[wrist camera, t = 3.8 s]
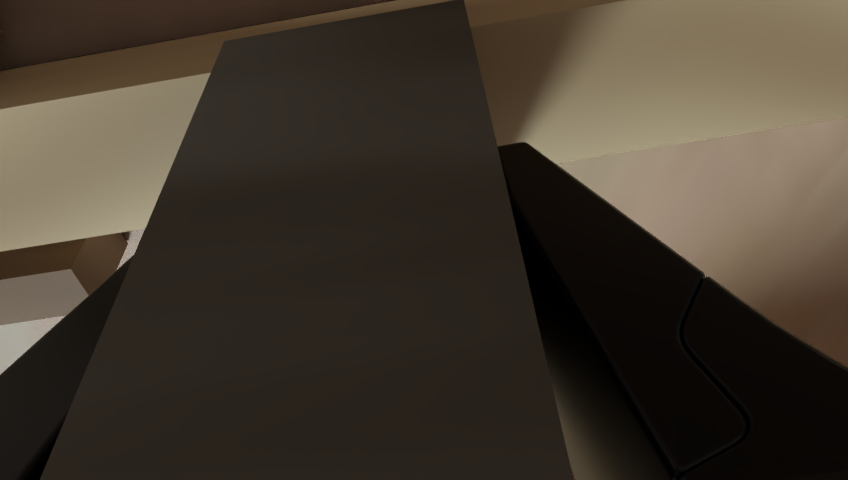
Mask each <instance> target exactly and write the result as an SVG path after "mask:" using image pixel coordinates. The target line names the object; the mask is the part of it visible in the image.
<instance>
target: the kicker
mask: <svg viewBox="0 0 848 480" xmlns="http://www.w3.org/2000/svg"><path fill="white" fill-rule="evenodd" d="M846 117H848V0H396V1H390V2H384V3H379V4H373V5H368V6H362V7H356V8H351V9H345V10H340V11H334V12H328V13H323V14H317V15H312V16H306V17H300V18H295V19H289V20H284V21H278V22H272V23H267V24H261V25H255V26H250V27H244V28H239V29H233V30H227V31H222V32H216V33H211V34H205V35H199V36H194V37H188V38H183V39H177V40H171V41H166V42H160V43H155V44H149V45H143V46H138V47H132V48H127V49H121V50H115V51H110V52H104V53H99V54H93V55H87V56H82V57H76V58H71V59H65V60H59V61H54V62H48V63H43V64H37V65H31V66H26V67H20V68H15V69H9V70H3V71H0V252H1V251H7V250H14V249H20V248H26V247H33V246H39V245H45V244H51V243H58V242H64V241H70V240H77V239H83V238H89V237H96V236H102V235H108V234H115V233H121V232H127V231H133V230H140V229H145V231H144V233H143V235H142V238H141V240H140V242H139V245H138V247H137V250H136V252H135V254H134V257H133V259H132V262H131V264H130V266H129V269H128V271H127V273H126V276H125V278H124V281H123V283H122V285H121V288H120V290H119V292H118V295H117V297H116V300H115V302H114V304H113V307H112V309H111V311H110V314H109V316H108V319H107V321H106V323H105V326H104V328H103V331H102V333H101V335H100V338H99V340H98V342H97V345H96V347H95V350H94V352H93V354H92V357H91V359H90V361H89V364H88V366H87V369H86V371H85V373H84V376H83V378H82V380H81V383H80V385H79V388H78V390H77V392H76V395H75V397H74V400H73V402H72V404H71V407H70V409H69V411H68V414H67V416H66V419H65V421H64V423H63V426H62V428H61V430H60V433H59V435H58V438H57V440H56V442H55V445H54V447H53V449H52V452H51V454H50V457H49V459H48V461H47V464H46V466H45V469H44V471H43V473H42V476H41V478H40V480H574V479H573V475H572V471H571V466H570V462H569V457H568V453H567V449H566V444H565V440H564V436H563V431H562V427H561V422H560V418H559V414H558V409H557V405H556V401H555V396H554V392H553V387H552V383H551V379H550V374H549V370H548V366H547V361H546V357H545V352H544V348H543V344H542V339H541V335H540V331H539V326H538V322H537V317H536V313H535V309H534V304H533V300H532V295H531V291H530V287H529V282H528V278H527V274H526V269H525V265H524V260H523V256H522V252H521V247H520V243H519V239H518V234H517V230H516V225H515V221H514V217H513V212H512V208H511V204H510V199H509V195H508V190H507V186H506V182H505V177H504V173H503V169H502V164H501V160H500V155H499V151H498V147H497V146H502V145H507V144H513V143H518V142H526V143H528V144H530V145H531V146H532V147H534V148H535V149H536V150H538V151H539V152H540V153H542V154H543V155H545V156H546V157H547V158H549V159H550V160H551V161H553V162H554V163H555V164H556V163H563V162H569V161H575V160H581V159H588V158H594V157H600V156H607V155H613V154H619V153H626V152H632V151H638V150H645V149H651V148H657V147H663V146H670V145H676V144H682V143H689V142H695V141H701V140H708V139H714V138H720V137H727V136H733V135H739V134H745V133H752V132H758V131H764V130H771V129H777V128H783V127H790V126H796V125H802V124H809V123H815V122H821V121H828V120H834V119H840V118H846Z"/></svg>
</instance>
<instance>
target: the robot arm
mask: <svg viewBox="0 0 848 480" xmlns="http://www.w3.org/2000/svg"><path fill="white" fill-rule="evenodd" d="M497 147H498V151H499V155H500V160H501V164H502V169H503V173H504V177H505V182H506V186H507V190H508V195H509V199H510V204H511V208H512V212H513V217H514V221H515V225H516V230H517V234H518V239H519V243H520V247H521V252H522V256H523V260H524V265H525V269H526V274H527V278H528V282H529V287H530V291H531V295H532V300H533V304H534V309H535V313H536V317H537V322H538V326H539V331H540V335H541V339H542V344H543V348H544V352H545V357H546V361H547V366H548V370H549V374H550V379H551V383H552V387H553V392H554V396H555V401H556V405H557V409H558V414H559V418H560V422H561V427H562V431H563V436H564V440H565V444H566V449H567V453H568V457H569V462H570V465H571V468H572V471H573V474H574V477H575V480H848V367H846V366H844V365H842V364H841V363H839V362H837V361H836V360H834V359H832V358H831V357H829V356H827V355H826V354H824V353H822V352H821V351H819V350H818V349H816V348H814V347H813V346H811V345H809V344H808V343H806V342H805V341H803V340H801V339H800V338H798V337H797V336H795V335H793V334H792V333H790V332H788V331H787V330H785V329H784V328H782V327H780V326H779V325H777V324H776V323H774V322H773V321H771V320H770V319H768V318H767V317H766V316H764V315H763V314H761V313H760V312H758V311H757V310H755V309H754V308H753V307H751V306H750V305H748V304H747V303H745V302H744V301H742V300H741V299H740V298H738V297H737V296H735V295H734V294H732V293H731V292H730V291H728V290H727V289H726V288H724V287H723V286H722V285H720V284H719V283H717V282H716V281H715V280H713V279H712V278H711V277H705V275H704V273H703V272H702V271H701V270H699V269H698V268H697V267H695V266H694V265H693V264H691V263H690V262H688V261H687V260H686V259H684V258H683V257H682V256H680V255H679V254H678V253H676V252H675V251H674V250H672V249H671V248H669V247H668V246H667V245H665V244H664V243H663V242H661V241H660V240H659V239H657V238H656V237H655V236H653V235H652V234H650V233H649V232H648V231H646V230H645V229H644V228H642V227H641V226H640V225H638V224H637V223H636V222H634V221H633V220H631V219H630V218H629V217H627V216H626V215H625V214H623V213H622V212H621V211H619V210H618V209H617V208H615V207H614V206H612V205H611V204H610V203H608V202H607V201H606V200H604V199H603V198H602V197H600V196H599V195H597V194H596V193H595V192H593V191H592V190H591V189H589V188H588V187H587V186H585V185H584V184H583V183H581V182H580V181H578V180H577V179H576V178H574V177H573V176H572V175H570V174H569V173H568V172H566V171H565V170H564V169H562V168H561V167H559V166H558V165H557V164H555V163H554V162H553V161H551V160H550V159H549V158H547V157H546V156H545V155H543V154H542V153H540V152H539V151H538V150H536V149H535V148H534V147H532V146H531V145H530V144H528V143H526V142H518V143H513V144H507V145H502V146H497ZM133 257H134V255H133V256H132V257H131V258H130V259H129V260H128V261H126V262H125V263H124V264H123V265H122V266H121V267H120V268H119V269H118V270H116V271H115V272H114V273H113V274H112V275H111V276H110V277H109V278H108V279H106V280H105V281H104V282H103V283H102V284H101V285H100V286H99V287H98V288H96V289H95V290H94V291H93V292H92V293H91V294H90V295H89V296H87V297H86V298H85V299H84V300H83V301H82V302H81V303H80V304H79V305H77V306H76V307H75V308H74V309H73V310H72V311H71V312H70V313H69V314H67V315H66V316H65V317H64V318H63V319H62V320H61V321H60V322H59V323H57V324H56V325H55V326H54V327H53V328H52V329H51V330H50V331H49V332H47V333H46V334H45V335H44V336H43V337H42V338H41V339H40V340H39V341H37V342H36V343H35V344H34V345H33V346H32V347H31V348H30V349H28V350H27V351H26V352H25V353H24V354H23V355H22V356H21V357H20V358H18V359H17V360H16V361H15V362H14V363H13V364H12V365H11V366H10V367H8V368H7V369H6V370H5V371H4V372H3V373H2V374H1V375H0V480H40V478H41V476H42V473H43V471H44V469H45V466H46V464H47V461H48V459H49V457H50V454H51V452H52V449H53V447H54V445H55V442H56V440H57V438H58V435H59V433H60V430H61V428H62V426H63V423H64V421H65V419H66V416H67V414H68V411H69V409H70V407H71V404H72V402H73V400H74V397H75V395H76V392H77V390H78V388H79V385H80V383H81V380H82V378H83V376H84V373H85V371H86V369H87V366H88V364H89V361H90V359H91V357H92V354H93V352H94V350H95V347H96V345H97V342H98V340H99V338H100V335H101V333H102V331H103V328H104V326H105V323H106V321H107V319H108V316H109V314H110V311H111V309H112V307H113V304H114V302H115V300H116V297H117V295H118V292H119V290H120V288H121V285H122V283H123V281H124V278H125V276H126V273H127V271H128V269H129V266H130V264H131V262H132V259H133Z"/></svg>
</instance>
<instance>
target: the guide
mask: <svg viewBox="0 0 848 480" xmlns="http://www.w3.org/2000/svg"><path fill="white" fill-rule="evenodd" d="M2 31H3V29H2V27H1V25H0V33H1V32H2ZM127 245H128V243H127V241H126V240H125V238H124V236H123V234H122V233H115V234H108V235H102V236H96V237H89V238H83V239H77V240H70V241H64V242H58V243H51V244H45V245H39V246H33V247H26V248H20V249H14V250H7V251H1V252H0V325H4V324H11V323H18V322H24V321H31V320H38V319H44V318H51V317H58V316H64V315H67V314H69V313H70V312H71V311H72V310H73V309H74V308H75V307H76V306H77V305H79V304H80V303H81V302H82V301H83V300H84V299H85V298H86V297H87V296H89V295H90V294H91V293H92V292H93V291H94V290H95V289H96V288H98V287H99V286H100V285H101V284H102V283H103V282H104V281H105V280H106V279H108V278H109V277H110V276H111V275H112V274H113V273H114V272H115V271H116V270H117V267H118V265H119V263H120V260H121V258H122V256H123V254H124V251H125V249H126V247H127Z"/></svg>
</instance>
